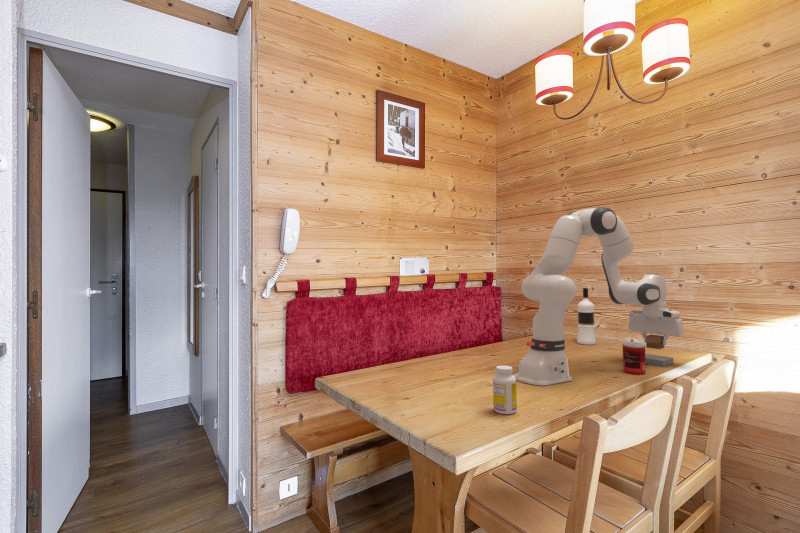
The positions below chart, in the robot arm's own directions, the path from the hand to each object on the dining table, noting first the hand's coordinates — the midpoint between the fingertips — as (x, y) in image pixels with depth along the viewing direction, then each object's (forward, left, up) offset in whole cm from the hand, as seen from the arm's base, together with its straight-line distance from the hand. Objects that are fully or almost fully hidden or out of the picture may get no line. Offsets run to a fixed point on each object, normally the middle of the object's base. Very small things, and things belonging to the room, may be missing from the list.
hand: (655, 343), depth 170 cm
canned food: (-22, -1, -8) cm, 24 cm away
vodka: (+19, +41, -8) cm, 46 cm away
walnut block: (0, 0, -2) cm, 2 cm away
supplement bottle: (-95, +3, -8) cm, 95 cm away
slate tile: (0, 0, -8) cm, 8 cm away
